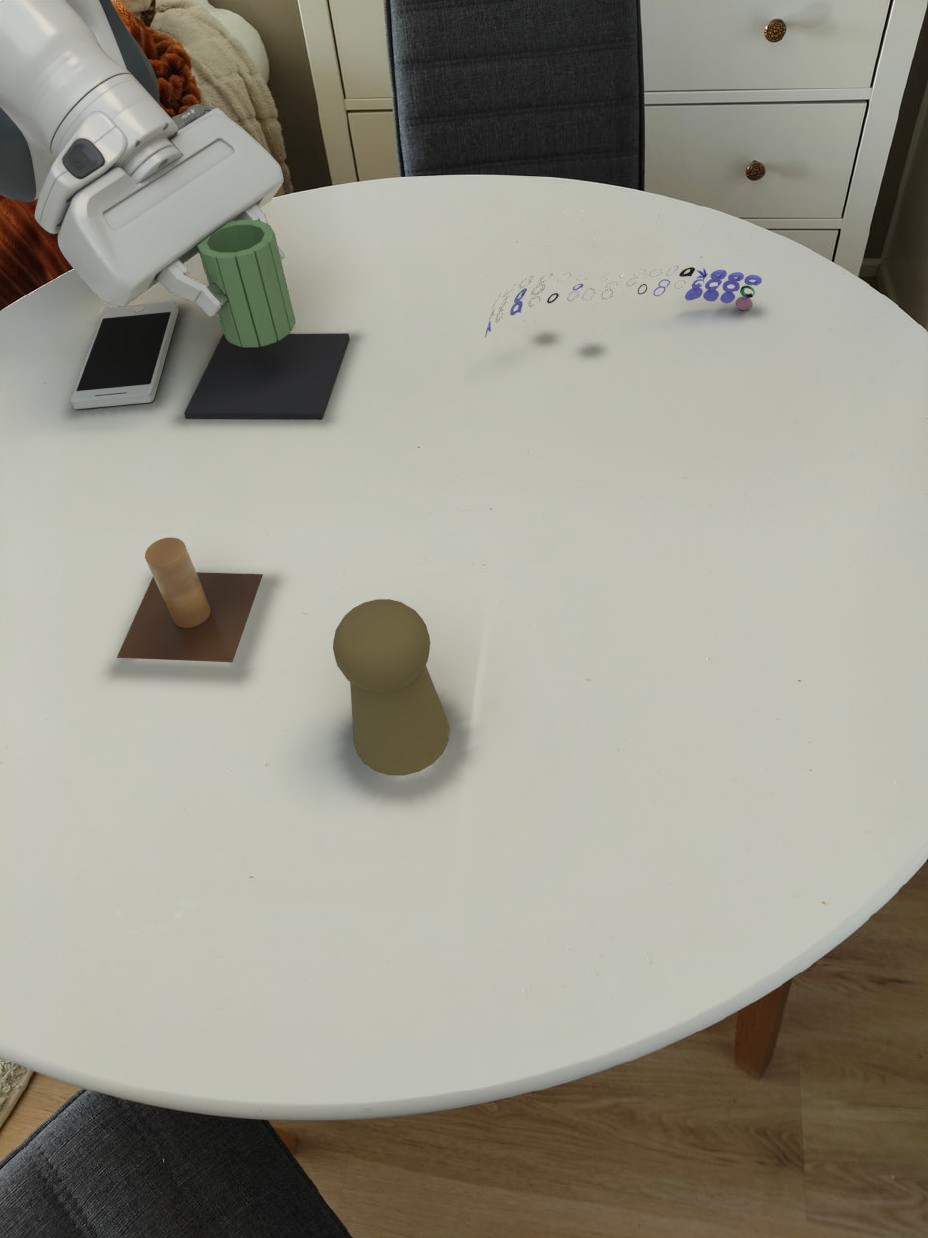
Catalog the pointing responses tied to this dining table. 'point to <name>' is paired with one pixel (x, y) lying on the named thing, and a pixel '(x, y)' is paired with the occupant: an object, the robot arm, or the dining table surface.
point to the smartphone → (126, 356)
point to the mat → (270, 379)
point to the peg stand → (189, 609)
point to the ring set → (692, 294)
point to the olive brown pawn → (391, 687)
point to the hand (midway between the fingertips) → (249, 286)
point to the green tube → (249, 282)
